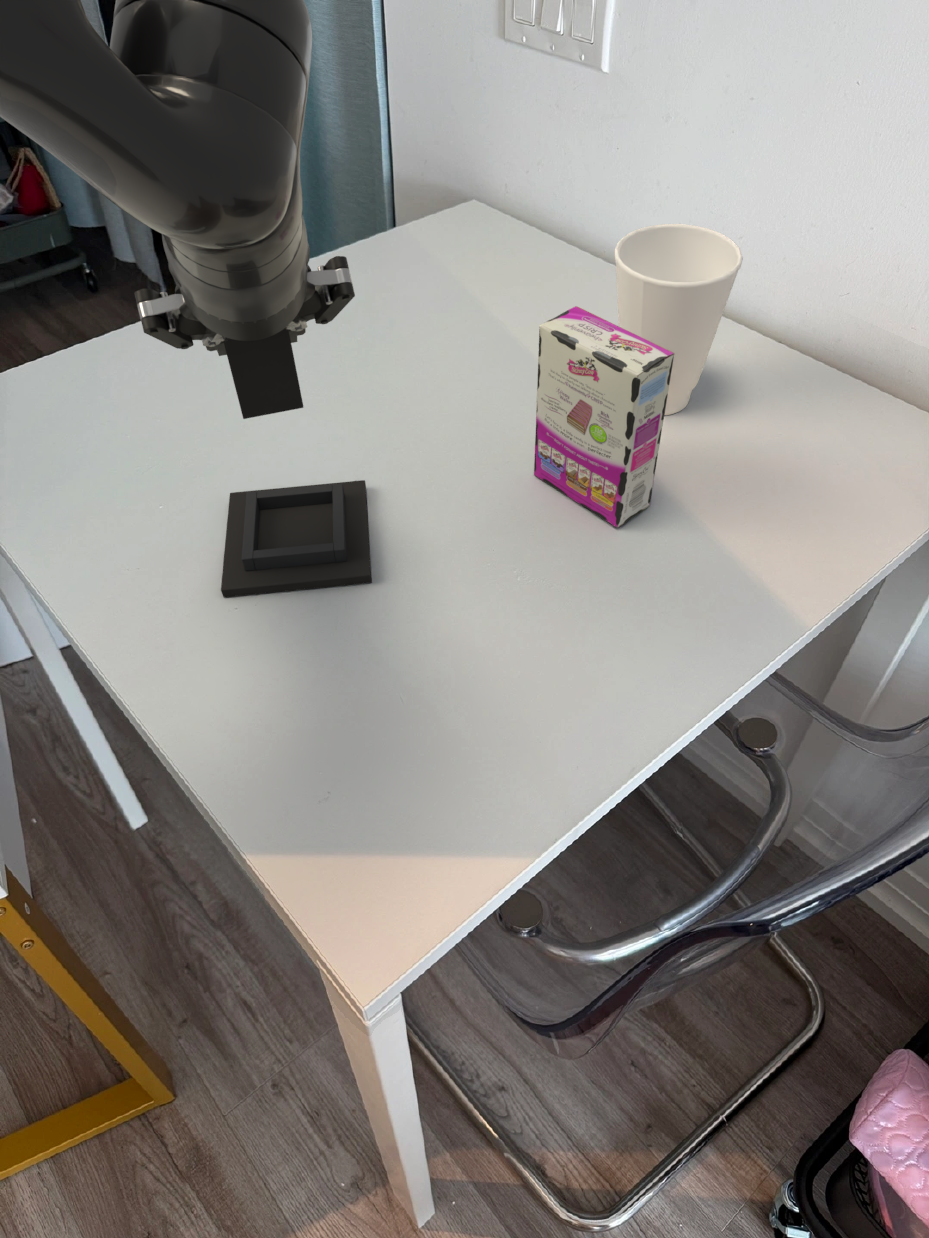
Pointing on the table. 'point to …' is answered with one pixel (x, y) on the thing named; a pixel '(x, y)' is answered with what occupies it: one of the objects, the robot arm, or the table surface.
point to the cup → (676, 294)
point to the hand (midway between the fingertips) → (254, 335)
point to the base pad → (296, 539)
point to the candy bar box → (599, 413)
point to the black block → (264, 375)
